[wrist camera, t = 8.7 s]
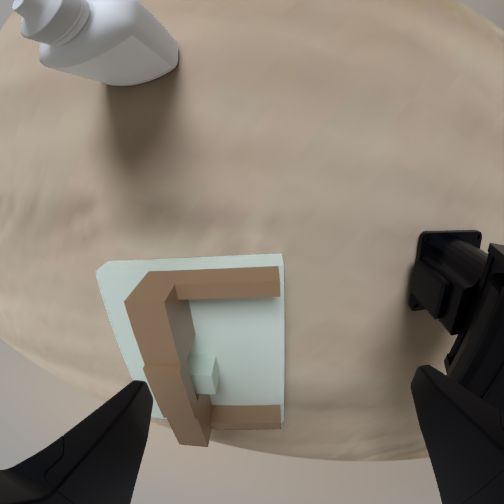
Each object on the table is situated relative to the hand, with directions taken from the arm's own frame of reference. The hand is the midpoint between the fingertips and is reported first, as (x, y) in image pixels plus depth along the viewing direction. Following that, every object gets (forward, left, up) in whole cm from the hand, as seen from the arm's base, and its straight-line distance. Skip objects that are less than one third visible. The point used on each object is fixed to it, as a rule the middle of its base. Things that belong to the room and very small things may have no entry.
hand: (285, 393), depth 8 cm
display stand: (+7, +8, -12) cm, 16 cm away
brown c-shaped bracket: (+4, +7, -10) cm, 13 cm away
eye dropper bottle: (+8, -14, -12) cm, 20 cm away
